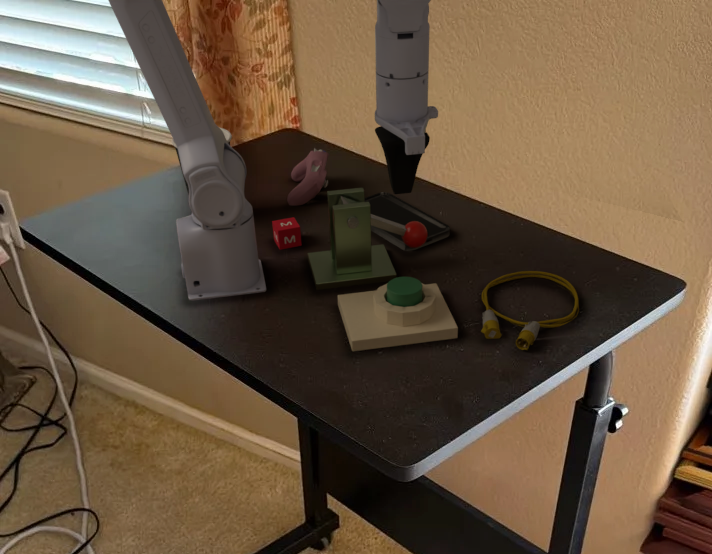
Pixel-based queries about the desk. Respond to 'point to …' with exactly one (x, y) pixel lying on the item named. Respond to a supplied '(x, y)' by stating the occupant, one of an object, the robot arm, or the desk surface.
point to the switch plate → (395, 319)
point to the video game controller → (309, 177)
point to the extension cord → (530, 327)
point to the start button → (404, 291)
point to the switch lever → (397, 227)
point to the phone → (404, 219)
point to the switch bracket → (350, 246)
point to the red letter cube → (287, 233)
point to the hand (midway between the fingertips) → (401, 191)
